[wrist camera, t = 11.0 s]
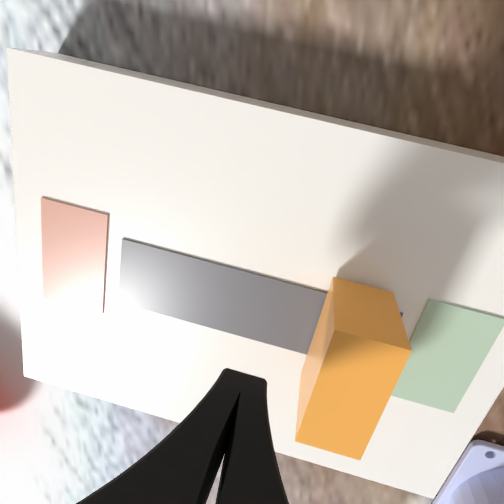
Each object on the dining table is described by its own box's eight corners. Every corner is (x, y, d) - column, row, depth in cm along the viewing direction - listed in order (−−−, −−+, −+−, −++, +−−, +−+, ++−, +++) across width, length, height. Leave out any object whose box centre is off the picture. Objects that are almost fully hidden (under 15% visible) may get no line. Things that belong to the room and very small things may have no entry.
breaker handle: (393, 292, 15) (411, 350, 12) (354, 388, 17) (360, 460, 14) (332, 276, 16) (334, 329, 12) (300, 373, 18) (294, 441, 14)
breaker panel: (573, 172, 16) (627, 192, 13) (420, 448, 22) (434, 500, 20) (56, 53, 17) (4, 47, 14) (58, 342, 24) (22, 377, 21)
